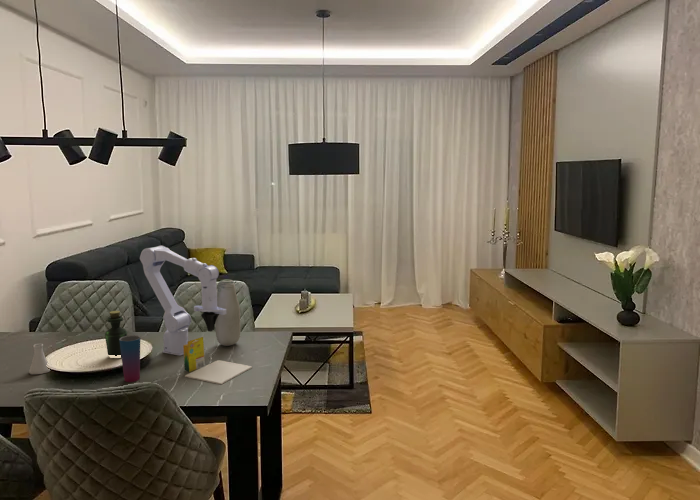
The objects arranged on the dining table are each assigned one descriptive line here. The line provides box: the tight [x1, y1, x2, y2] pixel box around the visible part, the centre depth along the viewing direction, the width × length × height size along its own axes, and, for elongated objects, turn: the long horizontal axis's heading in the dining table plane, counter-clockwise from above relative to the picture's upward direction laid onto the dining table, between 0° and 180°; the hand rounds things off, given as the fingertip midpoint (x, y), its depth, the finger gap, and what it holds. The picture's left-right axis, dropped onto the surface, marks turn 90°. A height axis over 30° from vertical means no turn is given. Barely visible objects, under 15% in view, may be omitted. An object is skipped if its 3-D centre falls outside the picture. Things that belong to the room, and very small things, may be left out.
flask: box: [28, 343, 51, 375], centre depth 198 cm, size 7×7×10 cm
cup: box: [119, 334, 141, 383], centre depth 190 cm, size 7×7×15 cm
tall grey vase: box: [214, 279, 241, 347], centre depth 228 cm, size 10×10×28 cm
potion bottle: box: [104, 310, 128, 356], centre depth 214 cm, size 8×8×18 cm
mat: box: [184, 359, 253, 385], centre depth 199 cm, size 16×18×1 cm
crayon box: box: [183, 336, 206, 373], centre depth 201 cm, size 7×3×12 cm, turn 145°
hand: (210, 330), depth 215 cm, fingers closed
